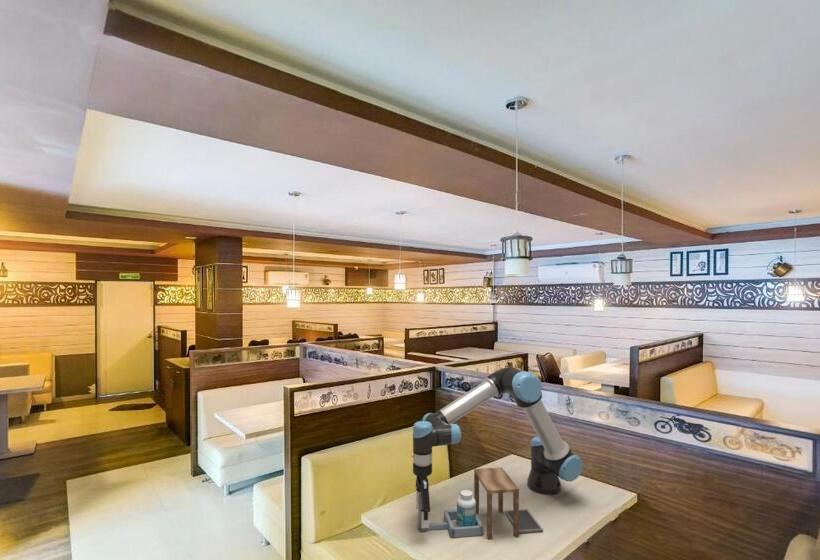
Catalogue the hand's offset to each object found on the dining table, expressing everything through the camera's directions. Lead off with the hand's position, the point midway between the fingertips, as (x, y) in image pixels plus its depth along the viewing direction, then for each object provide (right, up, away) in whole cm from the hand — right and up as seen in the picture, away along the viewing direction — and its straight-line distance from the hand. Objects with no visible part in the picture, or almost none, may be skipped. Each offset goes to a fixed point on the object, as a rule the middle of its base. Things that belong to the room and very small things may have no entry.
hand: (422, 517), depth 163 cm
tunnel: (+29, -5, +4) cm, 30 cm away
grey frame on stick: (+10, -4, +1) cm, 11 cm away
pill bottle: (+17, -5, +2) cm, 18 cm away
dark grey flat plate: (+41, -5, +5) cm, 41 cm away
